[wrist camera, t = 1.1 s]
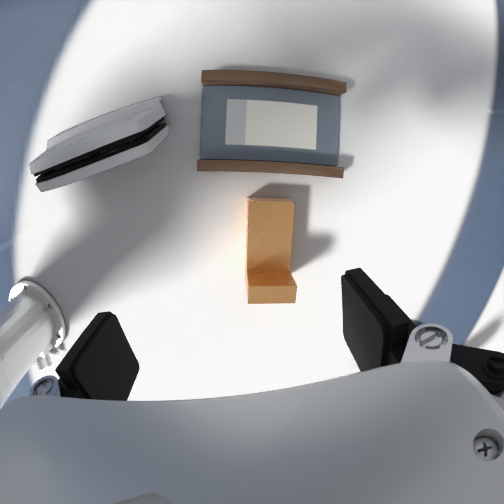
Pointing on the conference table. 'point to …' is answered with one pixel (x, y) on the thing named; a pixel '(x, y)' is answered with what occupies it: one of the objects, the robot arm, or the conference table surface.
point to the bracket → (269, 251)
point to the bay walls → (273, 82)
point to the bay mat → (269, 125)
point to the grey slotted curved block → (101, 144)
